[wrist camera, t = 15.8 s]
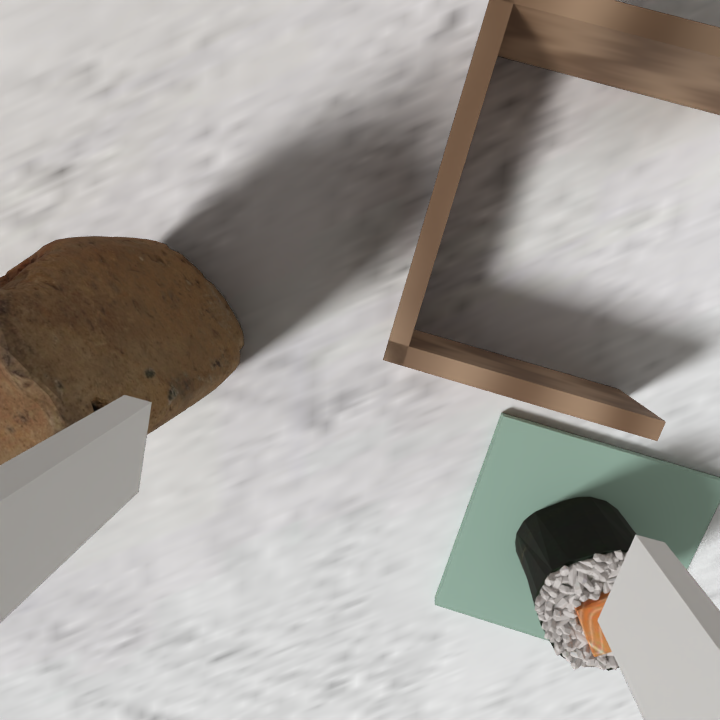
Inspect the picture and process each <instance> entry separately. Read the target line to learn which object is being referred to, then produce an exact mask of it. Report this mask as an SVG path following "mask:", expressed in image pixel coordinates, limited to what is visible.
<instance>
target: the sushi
mask: <svg viewBox="0 0 720 720" xmlns="http://www.w3.org/2000/svg"><path fill="white" fill-rule="evenodd" d="M635 535H637V534H636V533H635V531H634V530H633V529H632V528H631V526H630V525H629V524H628V522H627V521H626V520H625V518H624V517H623V516H622V514H621V513H620V512H619V510H618V509H617V508H615V507H614V506H613V505H611V504H610V503H609V502H607V501H605V500H601V499H597V498H594V497H576V498H572V499H568V500H564V501H561V502H559V503H556V504H554V505H551V506H548V507H546V508H543V509H541V510H538V511H535V512H534V513H533V514H531V515H530V516H529V517H527V518H526V519H525V520H524V521H523V523H522V524H521V526H520V528H519V529H518V531H517V533H516V539H515V547H516V553H517V555H518V558H519V560H520V563H521V565H522V568H523V570H524V573H525V575H526V577H527V580H528V584H529V588H530V591H531V595H532V598H533V602H534V606H535V611H536V612H537V615H538V618H539V621H540V624H541V626H542V629H543V630H544V632H545V636H544V638H545V639H547V640H548V639H549V641H550V643H551V644H552V646H553V648H554V650H555V653H556V654H557V655H561V656H562V657H563V658H565V659H566V660H567V661H568V662H571V666H572V668H573V669H574V670H575V669H577V668H579V667H580V665H581V666H582V667H587V666H588V667H598V668H600V669H602V670H605V669H607V670H608V671H609V670H612V669H615V670H616V669H617V668H619V666H618V664H617V661H616V659H615V657H614V655H613V653H612V651H611V649H610V647H609V644H608V642H607V640H606V638H605V636H604V634H603V632H602V629H601V627H600V625H599V623H598V621H597V620H598V618H599V616H600V614H601V611H602V609H603V607H604V605H605V602H606V600H607V598H608V595H609V593H610V591H611V589H612V586H613V584H614V582H615V580H616V577H617V575H618V573H619V571H620V568H621V566H622V564H623V562H624V559H625V557H626V555H627V553H628V550H629V548H630V546H631V544H632V541H633V539H634V537H635Z"/></svg>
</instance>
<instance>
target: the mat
mask: <svg viewBox="0 0 720 720" xmlns="http://www.w3.org/2000/svg"><path fill="white" fill-rule="evenodd" d="M576 497H594V498H597V499H601V500H605V501H607V502H609V503H610V504H611V505H613V506H614V507H615V508H617V509H618V510H619V512H620V513H621V514H622V516H623V517H624V518H625V520H626V521H627V522H628V524H629V525H630V526H631V528H632V529H633V530H634V531H635V533H636V534H637V535H639V536H643V537H647V538H650V539H654V540H658V541H661V542H665V543H666V544H667V546H668V547H669V548H670V549H671V551H672V552H673V553H674V554H675V556H676V557H677V558H678V559H679V561H680V562H681V563H682V564H683V566H684V567H685V568H686V569H687V568H688V566H689V564H690V562H691V560H692V558H693V556H694V554H695V552H696V550H697V548H698V546H699V544H700V542H701V540H702V538H703V536H704V534H705V532H706V530H707V528H708V525H709V523H710V521H711V519H712V517H713V515H714V513H715V511H716V509H717V507H718V505H719V503H720V477H717V476H713V475H710V474H707V473H703V472H700V471H696V470H693V469H690V468H686V467H683V466H680V465H676V464H673V463H670V462H666V461H663V460H659V459H656V458H653V457H649V456H646V455H643V454H639V453H636V452H633V451H629V450H626V449H622V448H619V447H616V446H612V445H609V444H606V443H602V442H599V441H595V440H592V439H589V438H585V437H582V436H579V435H575V434H572V433H569V432H565V431H562V430H558V429H555V428H552V427H548V426H545V425H542V424H538V423H535V422H532V421H528V420H525V419H521V418H518V417H515V416H511V415H508V414H505V413H501V416H500V418H499V421H498V424H497V427H496V430H495V432H494V435H493V438H492V441H491V443H490V446H489V449H488V452H487V454H486V457H485V460H484V463H483V466H482V468H481V471H480V474H479V477H478V479H477V482H476V485H475V488H474V490H473V493H472V496H471V499H470V502H469V504H468V507H467V510H466V513H465V515H464V518H463V521H462V524H461V527H460V529H459V532H458V535H457V538H456V540H455V543H454V546H453V549H452V551H451V554H450V557H449V560H448V563H447V565H446V568H445V571H444V574H443V576H442V579H441V582H440V585H439V588H438V590H437V593H436V596H435V605H437V606H440V607H443V608H447V609H450V610H453V611H456V612H459V613H462V614H466V615H469V616H472V617H475V618H478V619H481V620H485V621H488V622H491V623H494V624H497V625H500V626H504V627H507V628H510V629H513V630H516V631H519V632H523V633H526V634H529V635H532V636H535V637H538V638H542V639H545V638H544V636H545V632H544V630H543V629H542V626H541V624H540V621H539V618H538V615H537V612H536V611H535V606H534V602H533V598H532V595H531V591H530V588H529V584H528V580H527V577H526V575H525V573H524V570H523V568H522V565H521V563H520V560H519V558H518V555H517V553H516V547H515V539H516V533H517V531H518V529H519V528H520V526H521V524H522V523H523V521H524V520H525V519H526V518H527V517H529V516H530V515H531V514H533V513H534V512H535V511H538V510H541V509H543V508H546V507H548V506H551V505H554V504H556V503H559V502H561V501H564V500H568V499H572V498H576ZM545 640H547V639H545ZM548 641H549V639H548Z"/></svg>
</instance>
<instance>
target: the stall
mask: <svg viewBox="0 0 720 720" xmlns="http://www.w3.org/2000/svg"><path fill="white" fill-rule="evenodd" d="M497 56H499V57H503V58H507V59H511V60H514V61H518V62H522V63H526V64H529V65H533V66H537V67H541V68H545V69H548V70H552V71H556V72H560V73H563V74H567V75H571V76H575V77H578V78H582V79H586V80H590V81H593V82H597V83H601V84H605V85H609V86H612V87H616V88H620V89H624V90H627V91H631V92H635V93H639V94H642V95H646V96H650V97H654V98H657V99H661V100H665V101H669V102H673V103H676V104H680V105H684V106H688V107H691V108H695V109H699V110H703V111H706V112H710V113H714V114H718V115H720V28H719V27H715V26H711V25H708V24H704V23H700V22H696V21H692V20H688V19H684V18H680V17H677V16H673V15H669V14H665V13H661V12H657V11H653V10H649V9H646V8H642V7H638V6H634V5H630V4H626V3H622V2H618V1H615V0H489V3H488V6H487V9H486V13H485V16H484V20H483V23H482V26H481V30H480V33H479V37H478V40H477V43H476V47H475V50H474V53H473V57H472V60H471V64H470V67H469V70H468V74H467V77H466V81H465V84H464V87H463V91H462V94H461V97H460V101H459V104H458V108H457V111H456V114H455V118H454V121H453V124H452V128H451V131H450V135H449V138H448V141H447V145H446V148H445V152H444V155H443V158H442V162H441V165H440V168H439V172H438V175H437V179H436V182H435V185H434V189H433V192H432V196H431V199H430V202H429V206H428V209H427V212H426V216H425V219H424V223H423V226H422V229H421V233H420V236H419V240H418V243H417V246H416V250H415V253H414V256H413V260H412V263H411V267H410V270H409V273H408V277H407V280H406V284H405V287H404V290H403V294H402V297H401V300H400V304H399V307H398V311H397V314H396V317H395V321H394V324H393V328H392V331H391V334H390V338H389V341H388V344H387V348H386V351H385V355H384V358H383V360H385V361H388V362H391V363H395V364H398V365H402V366H405V367H408V368H412V369H415V370H419V371H422V372H425V373H429V374H432V375H435V376H439V377H442V378H446V379H449V380H452V381H456V382H459V383H463V384H466V385H469V386H473V387H476V388H479V389H483V390H486V391H490V392H493V393H496V394H500V395H503V396H507V397H510V398H513V399H517V400H520V401H523V402H527V403H530V404H534V405H537V406H540V407H544V408H547V409H551V410H554V411H557V412H561V413H564V414H567V415H571V416H574V417H578V418H581V419H584V420H588V421H591V422H594V423H598V424H601V425H605V426H608V427H611V428H615V429H618V430H622V431H625V432H628V433H632V434H635V435H638V436H642V437H645V438H649V439H652V440H655V441H658V438H659V436H660V434H661V431H662V429H663V427H664V425H665V421H664V420H662V419H661V418H660V417H658V416H657V415H655V414H654V413H652V412H651V411H650V410H648V409H647V408H645V407H644V406H642V405H641V404H639V403H638V402H637V401H635V400H634V399H632V398H631V397H629V396H628V395H626V394H625V393H624V392H622V391H621V390H619V389H617V388H613V387H610V386H607V385H603V384H600V383H596V382H593V381H589V380H586V379H583V378H579V377H576V376H572V375H569V374H565V373H562V372H559V371H555V370H552V369H548V368H545V367H541V366H538V365H535V364H531V363H528V362H524V361H521V360H517V359H514V358H511V357H507V356H504V355H500V354H497V353H493V352H490V351H487V350H483V349H480V348H476V347H473V346H470V345H466V344H463V343H459V342H456V341H452V340H449V339H446V338H442V337H439V336H435V335H432V334H428V333H425V332H422V331H418V330H415V329H414V328H415V324H416V321H417V318H418V314H419V311H420V308H421V305H422V301H423V298H424V295H425V292H426V288H427V285H428V282H429V278H430V275H431V272H432V269H433V265H434V262H435V259H436V256H437V252H438V249H439V246H440V243H441V239H442V236H443V233H444V229H445V226H446V223H447V220H448V216H449V213H450V210H451V207H452V203H453V200H454V197H455V193H456V190H457V187H458V184H459V180H460V177H461V174H462V171H463V167H464V164H465V161H466V157H467V154H468V151H469V148H470V144H471V141H472V138H473V135H474V131H475V128H476V125H477V122H478V118H479V115H480V112H481V108H482V105H483V102H484V99H485V95H486V92H487V89H488V86H489V82H490V79H491V76H492V72H493V69H494V66H495V63H496V59H497Z"/></svg>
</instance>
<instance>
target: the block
mask: <svg viewBox="0 0 720 720" xmlns="http://www.w3.org/2000/svg"><path fill="white" fill-rule="evenodd" d="M243 345H244V339H243V332H242V330H241V327H240V325H239V323H238V321H237V319H236V317H235V315H234V313H233V312H232V310H231V309H230V307H229V305H228V304H227V302H226V300H225V299H224V297H223V296H222V295H221V294H220V292H219V291H218V290H217V289H216V288H215V286H214V285H213V284H212V283H211V282H209V281H208V280H206V279H205V278H204V276H203V274H202V273H201V272H200V271H199V270H198V269H197V268H196V267H195V266H194V265H193V264H192V263H190V262H189V261H188V260H187V259H185V257H184V256H183V255H181V254H180V253H178V252H176V251H173V250H171V249H169V248H168V246H167V245H166V244H163V243H160V242H157V241H153V240H148V239H139V238H128V237H102V236H90V237H72V238H65V239H59V240H55V241H53V242H51V243H49V244H47V245H45V246H43V247H42V248H41V249H39V250H38V251H37V252H36V253H34V254H33V255H32V256H30V257H29V258H27V259H26V260H24V261H23V262H21V263H20V264H18V265H17V266H15V267H14V268H12V269H11V270H9V271H8V272H7V273H6V275H5V276H2V277H0V465H2V464H4V463H5V462H7V461H9V460H11V459H12V458H14V457H16V456H18V455H19V454H21V453H23V452H25V451H26V450H28V449H30V448H32V447H34V446H35V445H37V444H39V443H41V442H42V441H44V440H46V439H48V438H49V437H51V436H53V435H55V434H56V433H58V432H60V431H62V430H63V429H65V428H67V427H69V426H71V425H72V424H74V423H76V422H78V421H79V420H81V419H83V418H85V417H86V416H88V415H90V414H92V413H93V412H95V411H97V410H99V409H100V408H102V407H104V406H106V405H108V404H109V403H111V402H113V401H115V400H116V399H118V398H120V397H122V396H123V395H127V396H131V397H134V398H138V399H142V400H145V401H149V402H152V404H151V411H150V417H149V424H148V431H147V434H149V433H151V432H152V431H154V430H155V429H157V428H158V427H160V426H161V425H163V424H165V423H166V422H167V421H169V420H170V419H172V418H174V417H175V416H177V415H178V414H180V413H181V412H183V411H184V410H186V409H187V408H188V407H190V406H192V405H193V404H195V403H196V402H198V401H199V400H201V399H202V398H203V397H205V396H206V395H208V394H209V393H210V392H212V391H213V390H214V389H216V388H217V387H218V386H219V385H220V384H221V383H222V382H223V381H224V380H225V379H226V378H227V377H228V376H229V375H230V374H231V373H232V372H233V371H234V370H235V369H236V368H237V366H238V365H239V362H240V349H241V348H242V347H243Z"/></svg>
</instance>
